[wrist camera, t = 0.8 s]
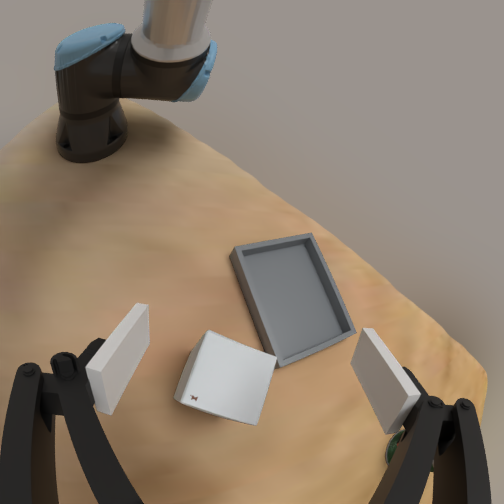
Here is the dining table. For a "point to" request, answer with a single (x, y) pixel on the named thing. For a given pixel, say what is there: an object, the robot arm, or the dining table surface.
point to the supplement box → (226, 379)
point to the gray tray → (291, 297)
